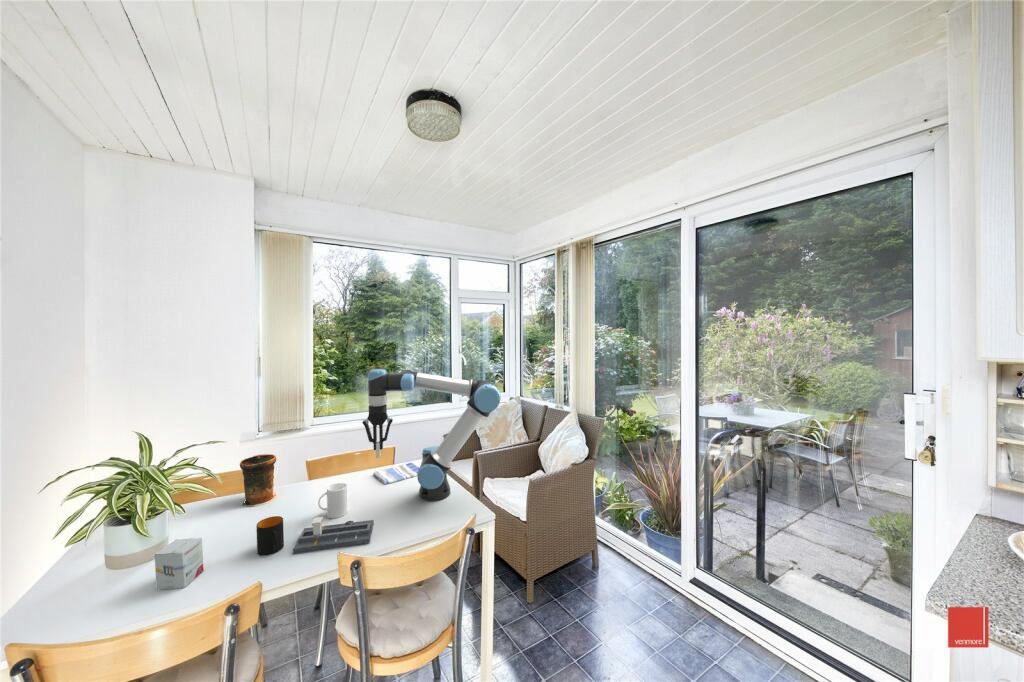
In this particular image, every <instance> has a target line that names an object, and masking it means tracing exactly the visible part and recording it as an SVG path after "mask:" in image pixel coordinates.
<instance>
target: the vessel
mask: <svg viewBox="0 0 1024 682" xmlns="http://www.w3.org/2000/svg"><path fill="white" fill-rule="evenodd" d="M276 462H277V456H276V455H275V454H271V453H270V454H269V453H267V454H266V453H263V454H257V455H253V456H251V457H250V456H249V457H248V458H247V457H246V458H243V459H242V460H241V461H240V462H239V467H240V469H241V470H242V475H243V487H244V498H245V499H244V501H245V500H246V501H245V503H244V501H242V504H241V506H243V507H246V508H247V507H248V508H251V507H257V506H260V505H264V504H265V505H266V504H267V503H271V501H273V500H274V499H275V498H276V496H277V494H276V493H274V486H275V483H274V479H275V476H274V470H275V468H276V467H275V463H276ZM273 494H275V495H273Z"/></svg>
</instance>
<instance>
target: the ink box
mask: <svg viewBox="0 0 1024 682" xmlns="http://www.w3.org/2000/svg"><path fill="white" fill-rule="evenodd" d="M203 556H204V555H203V539H202V537H198V538H197V537H189V538H181V539H179V538H177V539H174V540H173V541H172V542H170V543H169V544H168V545H166V546H165V547H163V548H162V549H160V550H159V551H157V552H156V553H155V554H154V567H155V584H156V587H155V588H156V590H157V591H161V590H174V589H175V590H176V589H185V588H187V587H188V585H190V584H191V583H192V582H193V581H194V580H196V578H197V577H198V576H199V575H200V574H201V573H203V572H204V557H203Z"/></svg>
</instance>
